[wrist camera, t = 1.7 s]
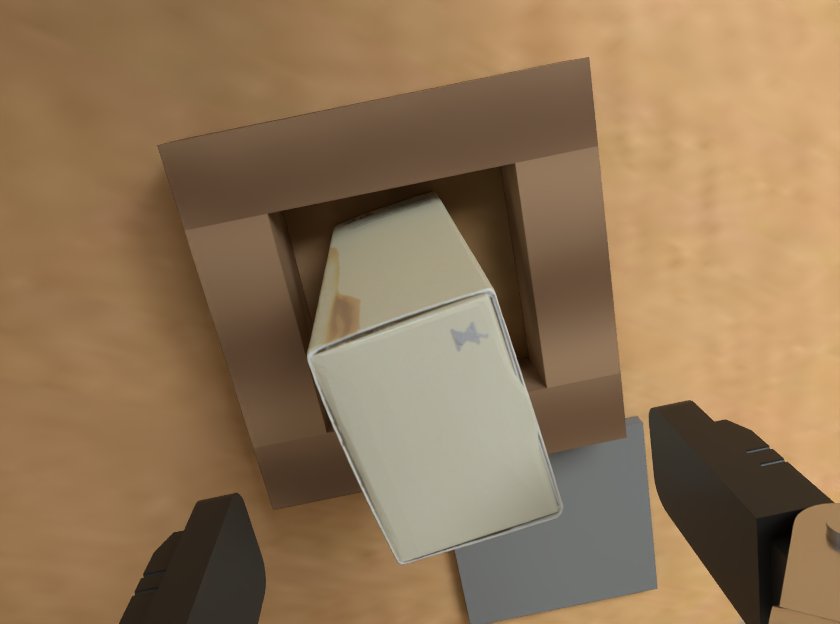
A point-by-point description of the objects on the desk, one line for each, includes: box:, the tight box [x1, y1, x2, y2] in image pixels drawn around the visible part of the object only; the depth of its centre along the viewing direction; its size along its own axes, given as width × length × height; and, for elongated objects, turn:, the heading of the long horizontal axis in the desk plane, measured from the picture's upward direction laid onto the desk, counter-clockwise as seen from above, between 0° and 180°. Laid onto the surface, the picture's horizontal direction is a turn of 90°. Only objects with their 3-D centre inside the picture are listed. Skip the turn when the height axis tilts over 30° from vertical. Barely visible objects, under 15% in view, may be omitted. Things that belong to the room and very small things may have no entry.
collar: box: [157, 57, 627, 510], centre depth 24 cm, size 14×14×3 cm
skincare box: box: [307, 192, 563, 565], centre depth 20 cm, size 6×4×12 cm
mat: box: [455, 416, 658, 624], centre depth 30 cm, size 9×9×1 cm
